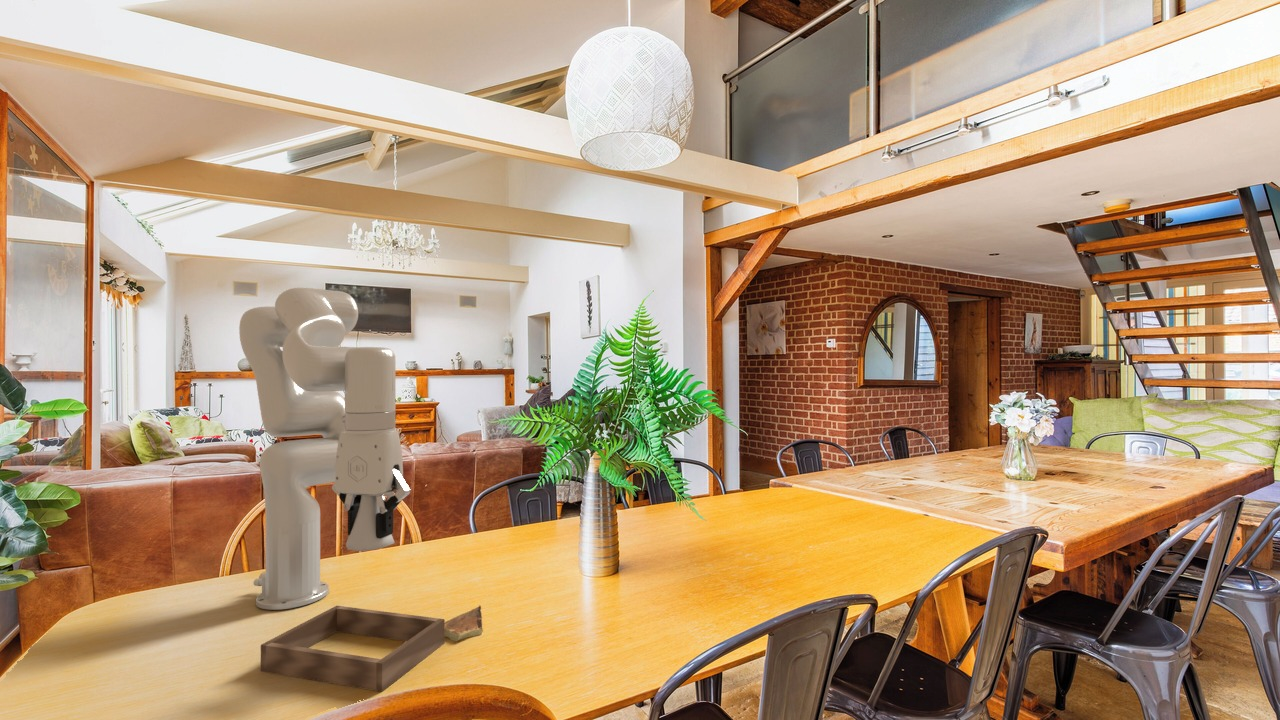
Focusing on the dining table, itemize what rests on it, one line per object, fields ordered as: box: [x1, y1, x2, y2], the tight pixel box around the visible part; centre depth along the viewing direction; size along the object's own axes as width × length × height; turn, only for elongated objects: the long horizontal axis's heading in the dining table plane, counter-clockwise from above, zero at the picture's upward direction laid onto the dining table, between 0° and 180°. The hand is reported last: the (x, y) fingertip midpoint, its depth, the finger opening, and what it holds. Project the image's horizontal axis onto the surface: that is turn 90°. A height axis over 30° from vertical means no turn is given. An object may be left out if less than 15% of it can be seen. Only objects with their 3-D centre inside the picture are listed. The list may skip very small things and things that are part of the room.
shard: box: [445, 605, 484, 642], centre depth 103 cm, size 11×8×2 cm
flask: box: [345, 495, 396, 552], centre depth 94 cm, size 7×7×10 cm
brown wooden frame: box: [260, 605, 446, 693], centre depth 93 cm, size 22×15×4 cm
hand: (370, 533), depth 94 cm, fingers closed on flask, 4 cm apart
